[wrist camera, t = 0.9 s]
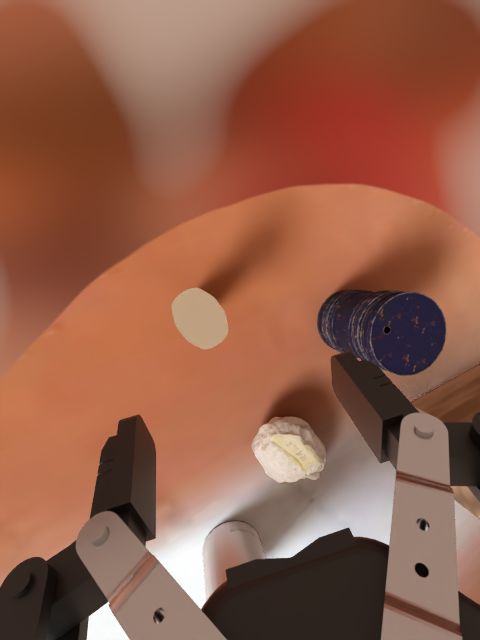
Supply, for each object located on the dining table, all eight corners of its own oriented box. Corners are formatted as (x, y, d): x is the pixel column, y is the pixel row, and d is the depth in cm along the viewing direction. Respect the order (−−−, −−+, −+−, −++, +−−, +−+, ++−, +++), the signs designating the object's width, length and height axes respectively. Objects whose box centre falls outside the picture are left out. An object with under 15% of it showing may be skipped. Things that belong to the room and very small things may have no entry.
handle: (195, 280, 48) (201, 278, 33) (220, 317, 49) (237, 330, 35) (167, 300, 48) (161, 306, 33) (193, 336, 49) (199, 357, 34)
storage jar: (380, 296, 53) (456, 300, 39) (367, 356, 54) (436, 382, 39) (323, 283, 52) (380, 283, 37) (310, 346, 52) (360, 369, 38)
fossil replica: (302, 479, 55) (322, 421, 55) (329, 509, 47) (353, 441, 47) (235, 461, 51) (258, 399, 52) (252, 490, 43) (279, 417, 44)
